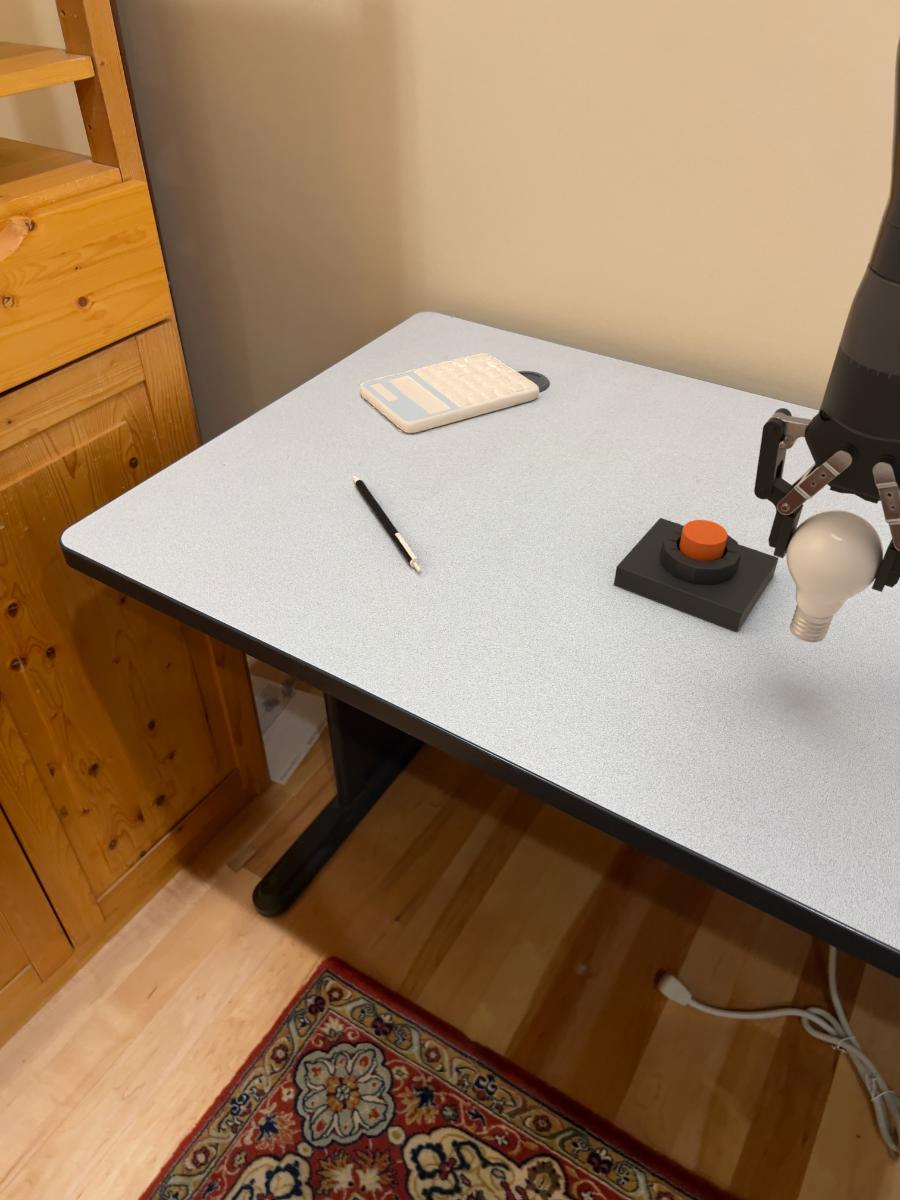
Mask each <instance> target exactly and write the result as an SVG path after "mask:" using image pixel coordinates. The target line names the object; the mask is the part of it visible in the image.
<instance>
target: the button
mask: <svg viewBox="0 0 900 1200" xmlns="http://www.w3.org/2000/svg"><path fill="white" fill-rule="evenodd" d="M683 526H684V527H683V530H682V535H681V539H680V544H679V549H680V551H681V552H682V553H683V554H684V555H685V556H687V557H690V558H693V559H696V560H699V561H715V560H718V559H720V558H721V557H722V556H723V553H724V549H725V545H726V541H727V537H728V535H729V534H728V532H727V530H726V528H725V527H724V526H722V525H721V524H719V523H717V522H715V521H711V520H708V519H707V520H706V519H694V520H690V521H688V522H686V523H685V524H684V525H683ZM727 534H728V535H727Z"/></svg>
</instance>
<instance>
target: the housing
mask: <svg viewBox="0 0 900 1200" xmlns="http://www.w3.org/2000/svg"><path fill="white" fill-rule="evenodd" d="M683 527H684V525H683V524H680V523H677V522H674V521H671V520H669V519H667V518H663V517H659V518H658V519H657V520H656V522H655V523H654V524H653V525H652V526H651V528H650V529H649V530H648V531H647V532H646V533H645V534H644V535H643V536H642V537H641V538H640V540H639V541H638V542H637V543H636V544H635V546H633V548H631V550H630V551H629V552H628V553H627V555H626V556H624V558H623V559H622V560H621V561H620V562H619V563H618V565H616V569H615V575H614V582H613V586H616V587H618V588H621V589H624V590H626V591H628V592H631V593H634V594H637V595H639V596H642V597H644V598H646V599H649V600H652V601H655V602H658V603H659V604H663V605H665V606H668V607H670V608H673V609H675V610H679V611H681V612H683V613H686V614H688V615H691V616H693V617H697V618H699V619H702V620H704V621H706V622H709V623H712V624H715V625H717V626H720V627H721V628H722V627H723V628H725V629H727V630H730V631H733V632H736V633H737V632H739V630H740V628H741V627H742V625H743V624H744V622H745V620H746V619H747V617H748V616H749V614H750V613H751V611H752V610H753V608H754V607H755V605H756V603H757V602H758V601H759V599H760V597H761V596H762V595H763V593H764V592H765V590H766V588H767V587H768V586H769V583H770V582H771V580H772V579H773V577H774V575H775V572H776V568H777V565H778V561H779V557H777V556H774V555H772V554H769V553H766V552H762V551H760V550H758V549H754V548H751V547H747V546H745V545H742V544H740V543H738V541H737V540H735V539H734V538H733V537H732V536H730V535H729V534H728V533H727V535H728V537H727V541H726V545H725V549H724V553H723V556H722V557H721V558H720V559H718V560H715V561H699V560H696V559H693V558H690V557H687V556H685V555H684V554H683V553H682V552H681V551H680V549H679V544H680V539H681V535H682V530H683Z"/></svg>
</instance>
